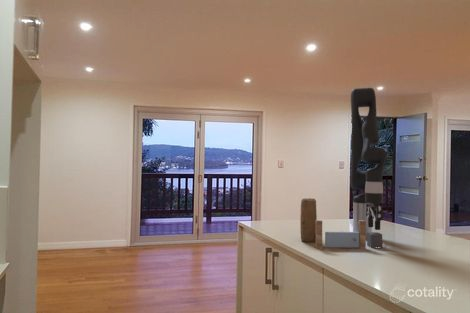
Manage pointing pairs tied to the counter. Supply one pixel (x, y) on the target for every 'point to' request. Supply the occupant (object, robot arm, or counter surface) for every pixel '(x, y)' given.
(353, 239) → the door
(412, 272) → the counter surface
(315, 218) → the brown bread loaf
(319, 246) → the frame
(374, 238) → the gray rectangular block
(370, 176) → the robot arm
